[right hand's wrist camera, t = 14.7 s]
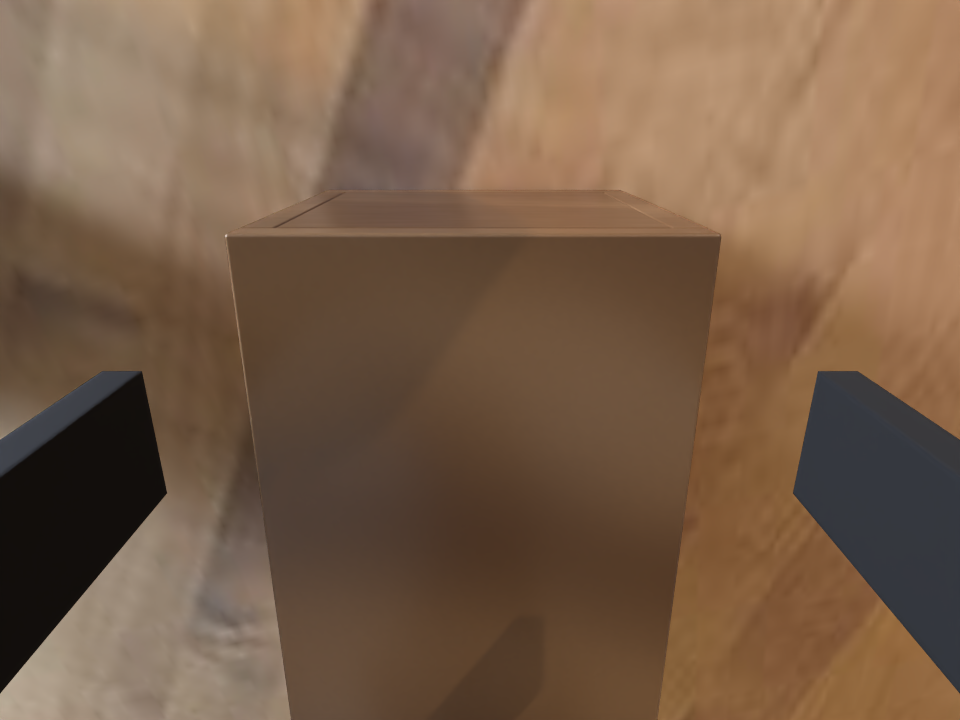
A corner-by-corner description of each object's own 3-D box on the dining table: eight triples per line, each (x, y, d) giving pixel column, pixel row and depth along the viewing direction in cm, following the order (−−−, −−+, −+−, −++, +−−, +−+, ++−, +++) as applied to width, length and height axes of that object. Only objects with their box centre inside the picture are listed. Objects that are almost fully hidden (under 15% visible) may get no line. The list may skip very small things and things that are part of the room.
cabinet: (593, 556, 28) (651, 767, 19) (355, 557, 28) (296, 769, 19) (621, 190, 23) (723, 233, 14) (326, 189, 23) (222, 233, 13)
